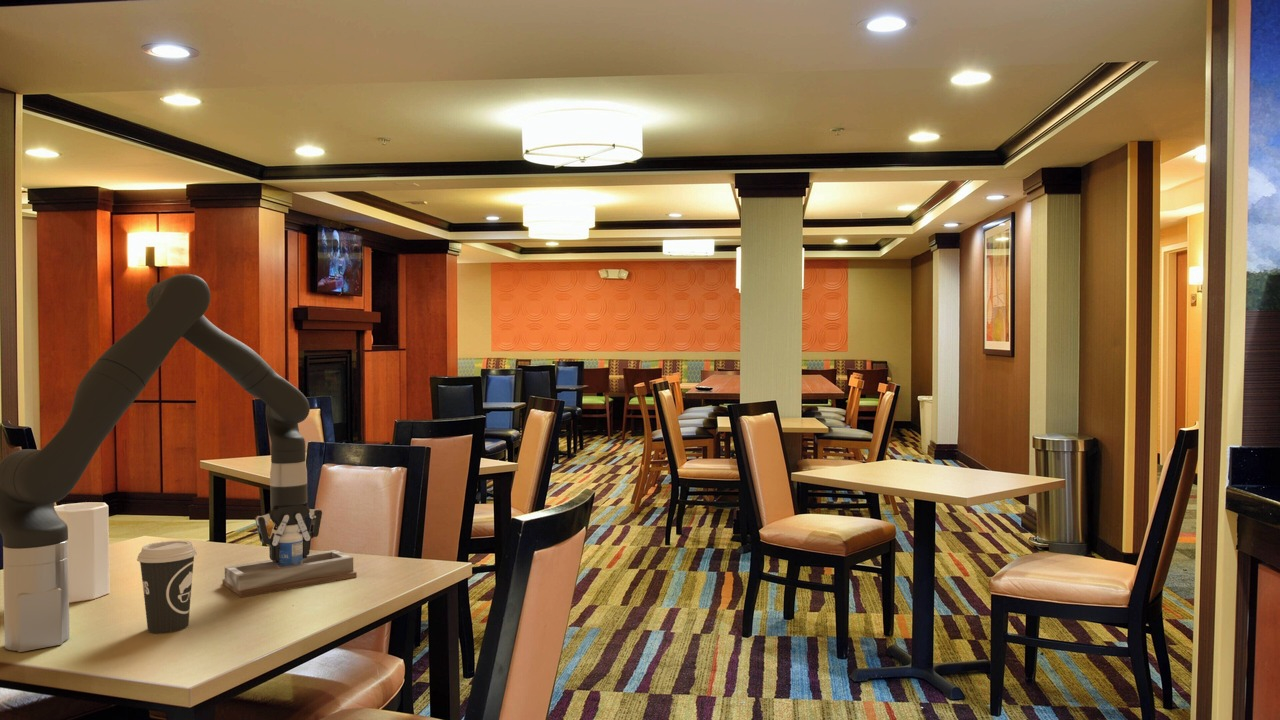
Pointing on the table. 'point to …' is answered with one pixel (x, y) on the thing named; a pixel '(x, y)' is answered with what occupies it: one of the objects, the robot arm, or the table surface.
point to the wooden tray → (288, 573)
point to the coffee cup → (167, 584)
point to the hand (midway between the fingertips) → (289, 559)
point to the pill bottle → (290, 547)
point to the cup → (87, 549)
